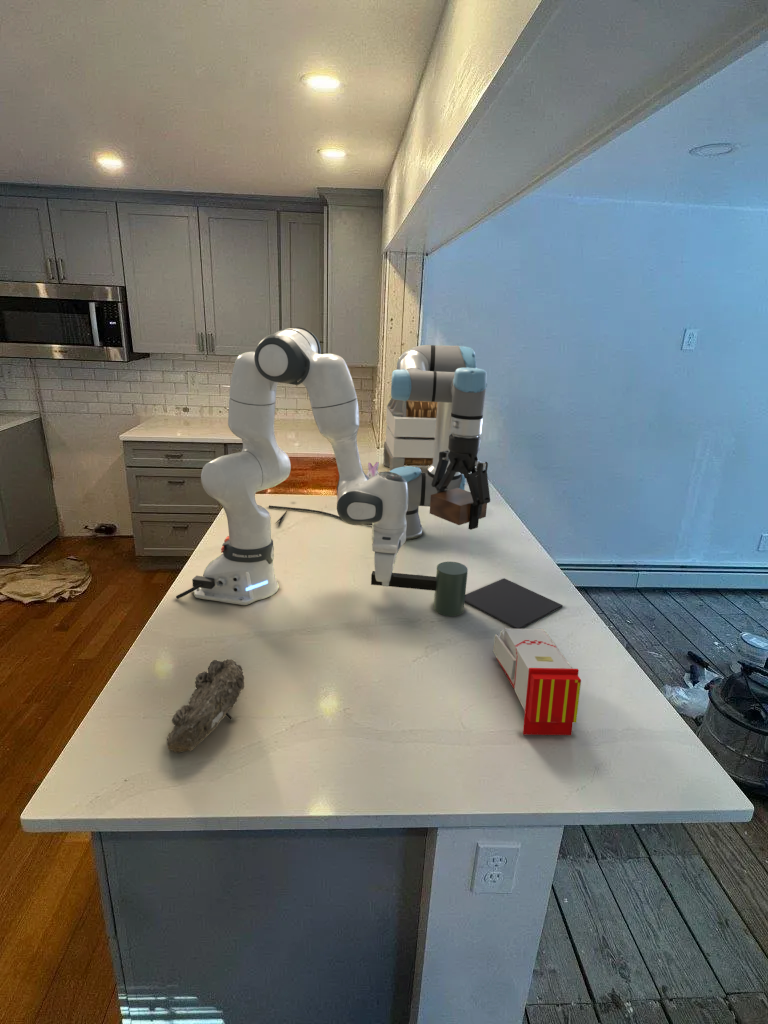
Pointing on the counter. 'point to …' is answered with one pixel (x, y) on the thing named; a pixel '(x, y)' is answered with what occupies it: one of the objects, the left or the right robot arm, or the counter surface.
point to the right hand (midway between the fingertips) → (456, 521)
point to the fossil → (206, 705)
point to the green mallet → (437, 586)
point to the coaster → (511, 603)
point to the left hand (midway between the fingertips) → (386, 582)
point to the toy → (539, 680)
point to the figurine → (372, 470)
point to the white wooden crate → (409, 433)
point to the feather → (281, 519)
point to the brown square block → (453, 506)
